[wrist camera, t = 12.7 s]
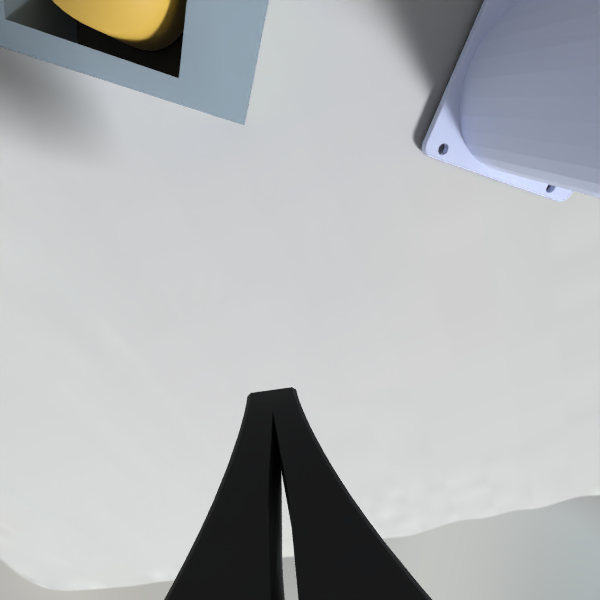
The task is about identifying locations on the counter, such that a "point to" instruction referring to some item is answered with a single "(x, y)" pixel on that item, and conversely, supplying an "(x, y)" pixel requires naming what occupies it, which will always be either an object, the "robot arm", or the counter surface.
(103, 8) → the button
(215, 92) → the cabinet
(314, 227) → the counter surface
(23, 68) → the counter surface
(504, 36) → the robot arm
